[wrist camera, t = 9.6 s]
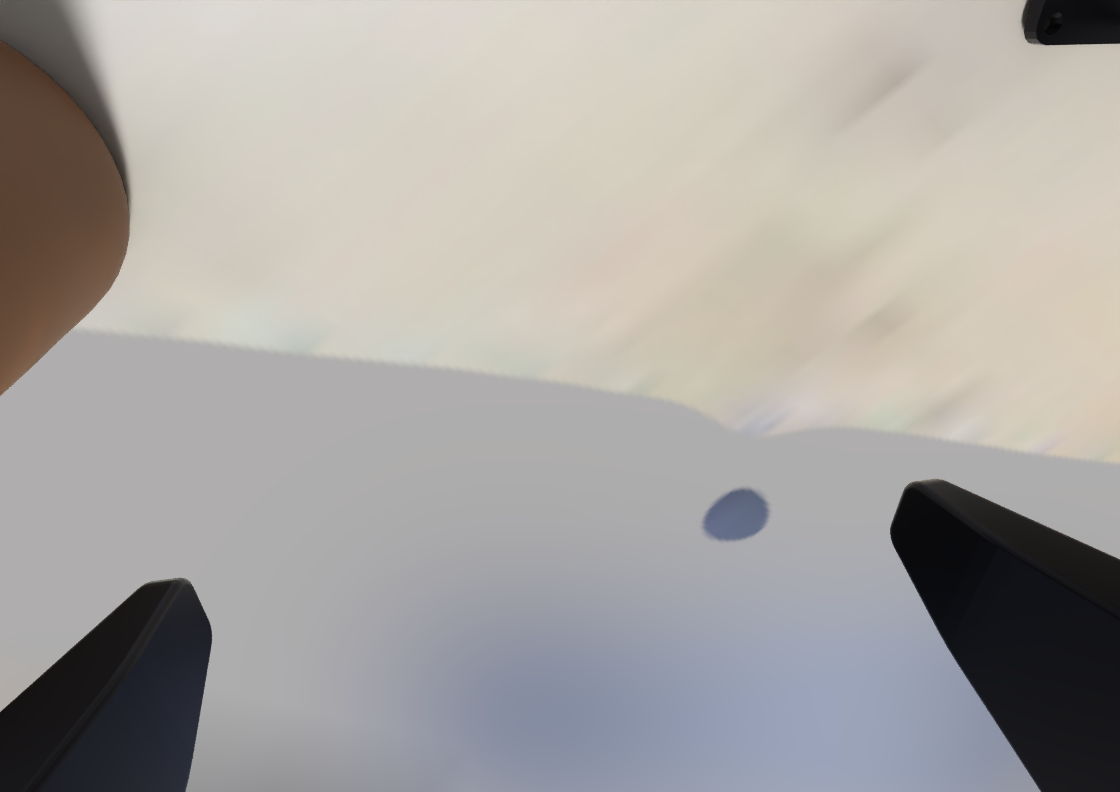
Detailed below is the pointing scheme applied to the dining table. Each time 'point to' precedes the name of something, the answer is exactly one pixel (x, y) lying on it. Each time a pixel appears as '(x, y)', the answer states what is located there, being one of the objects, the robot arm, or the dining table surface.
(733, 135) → the dining table surface
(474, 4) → the dining table surface
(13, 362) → the mug
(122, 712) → the robot arm
